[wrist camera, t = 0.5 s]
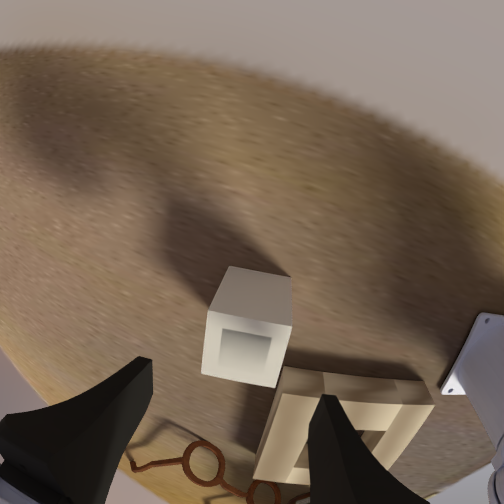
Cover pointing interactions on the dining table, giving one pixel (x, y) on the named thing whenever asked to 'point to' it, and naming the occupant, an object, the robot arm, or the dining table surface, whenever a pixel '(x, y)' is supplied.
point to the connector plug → (248, 327)
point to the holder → (355, 406)
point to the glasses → (219, 476)
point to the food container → (301, 499)
